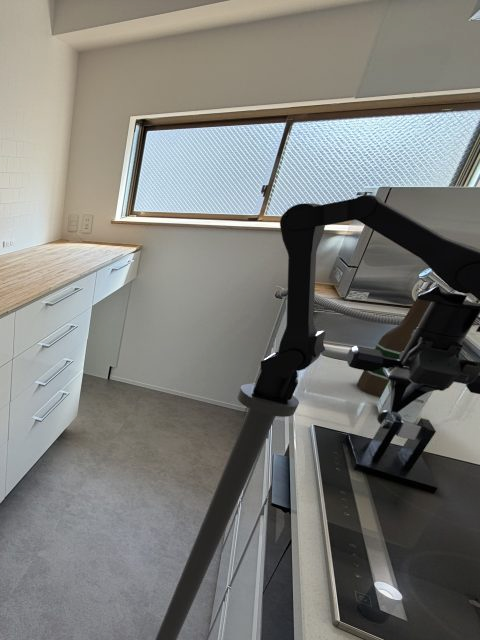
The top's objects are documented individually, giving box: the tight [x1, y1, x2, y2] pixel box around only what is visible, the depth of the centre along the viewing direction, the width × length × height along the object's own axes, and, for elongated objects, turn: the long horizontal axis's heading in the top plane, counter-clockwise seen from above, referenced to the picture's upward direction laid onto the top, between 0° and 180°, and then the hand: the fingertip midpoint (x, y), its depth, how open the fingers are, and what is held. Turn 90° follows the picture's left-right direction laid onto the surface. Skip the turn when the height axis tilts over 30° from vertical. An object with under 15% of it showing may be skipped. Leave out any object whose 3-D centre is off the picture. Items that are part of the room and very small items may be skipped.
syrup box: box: [376, 366, 434, 423], centre depth 85 cm, size 6×6×14 cm
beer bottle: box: [356, 289, 431, 398], centre depth 93 cm, size 8×8×24 cm
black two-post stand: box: [344, 411, 439, 494], centre depth 70 cm, size 12×10×9 cm
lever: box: [376, 410, 421, 440], centre depth 73 cm, size 12×3×3 cm, turn 146°
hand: (393, 411), depth 76 cm, fingers closed
